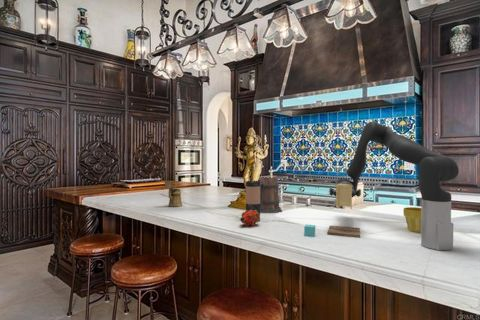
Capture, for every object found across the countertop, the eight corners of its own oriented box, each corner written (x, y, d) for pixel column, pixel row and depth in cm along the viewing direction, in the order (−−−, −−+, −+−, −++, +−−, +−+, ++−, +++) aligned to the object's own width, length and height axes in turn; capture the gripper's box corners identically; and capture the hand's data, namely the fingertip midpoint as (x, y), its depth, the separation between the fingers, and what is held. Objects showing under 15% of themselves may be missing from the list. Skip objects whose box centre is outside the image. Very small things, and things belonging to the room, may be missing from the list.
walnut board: (329, 227, 140) (329, 225, 140) (359, 230, 135) (359, 227, 135) (327, 234, 128) (327, 232, 128) (360, 237, 123) (360, 235, 123)
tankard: (263, 207, 194) (263, 176, 193) (287, 209, 184) (287, 177, 184) (243, 213, 174) (243, 178, 174) (269, 216, 165) (269, 180, 165)
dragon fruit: (260, 226, 148) (243, 234, 139) (249, 214, 152) (232, 222, 144) (267, 214, 143) (249, 222, 135) (255, 202, 148) (238, 209, 139)
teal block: (305, 233, 129) (305, 224, 129) (315, 234, 128) (315, 225, 128) (304, 236, 126) (304, 226, 126) (314, 236, 124) (314, 227, 124)
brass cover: (337, 205, 135) (337, 183, 135) (351, 206, 133) (352, 184, 133) (336, 208, 129) (336, 185, 129) (351, 209, 127) (351, 185, 127)
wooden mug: (160, 207, 192) (160, 179, 191) (174, 204, 204) (174, 178, 203) (171, 208, 188) (171, 180, 187) (185, 205, 199) (185, 178, 199)
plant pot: (397, 229, 137) (398, 207, 137) (413, 227, 141) (413, 206, 141) (419, 234, 128) (419, 211, 127) (435, 232, 132) (435, 209, 131)
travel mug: (263, 219, 157) (263, 181, 157) (253, 221, 151) (253, 182, 151) (252, 217, 162) (252, 180, 162) (242, 219, 157) (242, 181, 156)
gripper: (330, 181, 147) (326, 185, 131) (361, 182, 142) (362, 186, 126) (329, 196, 147) (326, 202, 131) (361, 198, 142) (362, 204, 126)
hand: (344, 194), depth 129 cm, fingers closed on brass cover, 6 cm apart
